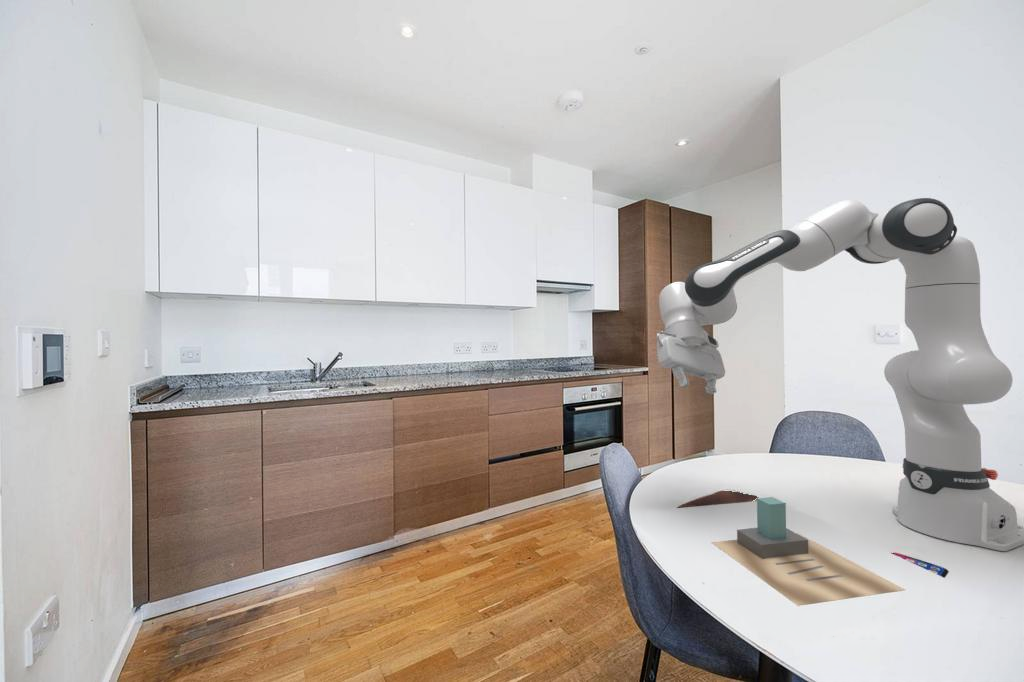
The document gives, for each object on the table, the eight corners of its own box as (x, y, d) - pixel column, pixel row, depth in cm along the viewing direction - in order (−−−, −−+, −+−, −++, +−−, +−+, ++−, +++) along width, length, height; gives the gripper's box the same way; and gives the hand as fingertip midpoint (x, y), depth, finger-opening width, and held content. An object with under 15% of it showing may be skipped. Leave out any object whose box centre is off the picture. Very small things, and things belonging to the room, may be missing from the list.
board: (797, 540, 80) (797, 532, 80) (905, 599, 61) (905, 589, 61) (711, 549, 76) (711, 542, 76) (798, 615, 58) (797, 605, 58)
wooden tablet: (726, 484, 110) (764, 490, 101) (727, 492, 109) (766, 499, 101) (671, 507, 95) (711, 517, 87) (672, 517, 94) (712, 527, 86)
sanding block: (780, 537, 78) (780, 492, 78) (808, 553, 72) (807, 504, 72) (737, 542, 76) (736, 496, 76) (761, 558, 70) (760, 509, 71)
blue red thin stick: (865, 575, 67) (891, 550, 75) (865, 579, 67) (891, 553, 75) (928, 598, 61) (949, 568, 69) (928, 603, 61) (949, 572, 69)
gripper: (666, 323, 92) (678, 376, 85) (722, 342, 101) (737, 392, 94) (646, 335, 97) (657, 386, 90) (701, 352, 105) (714, 400, 99)
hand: (698, 389), depth 92 cm, fingers open, 8 cm apart
